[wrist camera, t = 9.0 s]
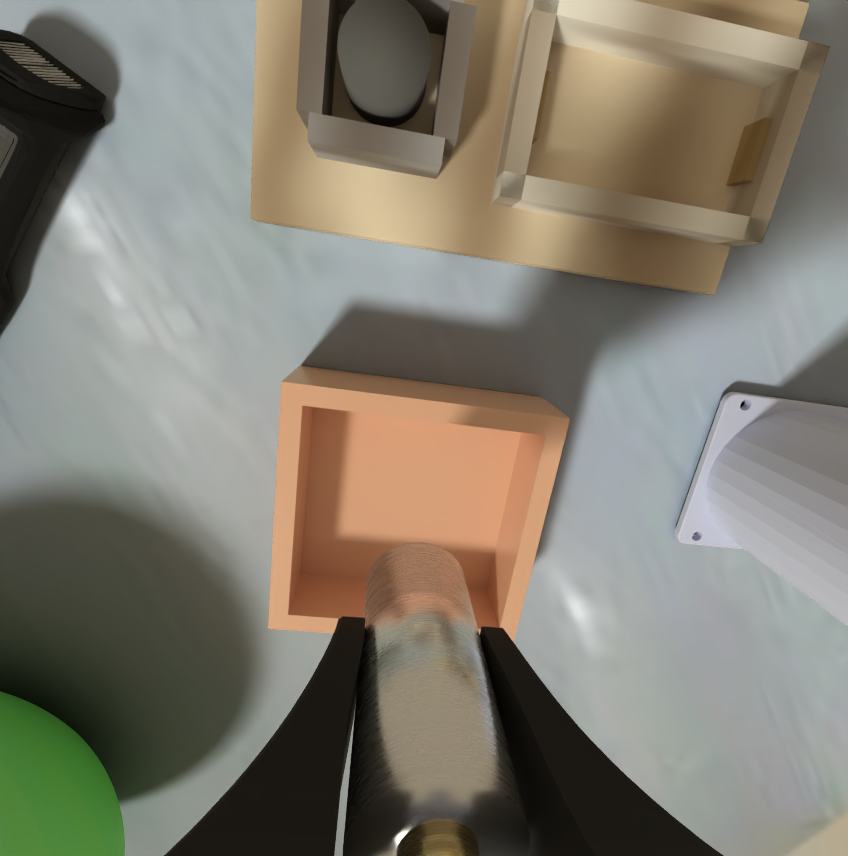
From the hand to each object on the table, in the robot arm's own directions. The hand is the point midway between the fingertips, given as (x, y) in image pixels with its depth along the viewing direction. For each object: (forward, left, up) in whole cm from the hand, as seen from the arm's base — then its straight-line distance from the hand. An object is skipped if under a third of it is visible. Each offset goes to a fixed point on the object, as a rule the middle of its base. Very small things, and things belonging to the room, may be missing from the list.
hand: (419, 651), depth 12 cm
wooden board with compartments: (-2, -16, -10) cm, 19 cm away
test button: (+3, -16, -8) cm, 18 cm away
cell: (0, 0, -2) cm, 3 cm away
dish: (0, 0, -10) cm, 10 cm away
